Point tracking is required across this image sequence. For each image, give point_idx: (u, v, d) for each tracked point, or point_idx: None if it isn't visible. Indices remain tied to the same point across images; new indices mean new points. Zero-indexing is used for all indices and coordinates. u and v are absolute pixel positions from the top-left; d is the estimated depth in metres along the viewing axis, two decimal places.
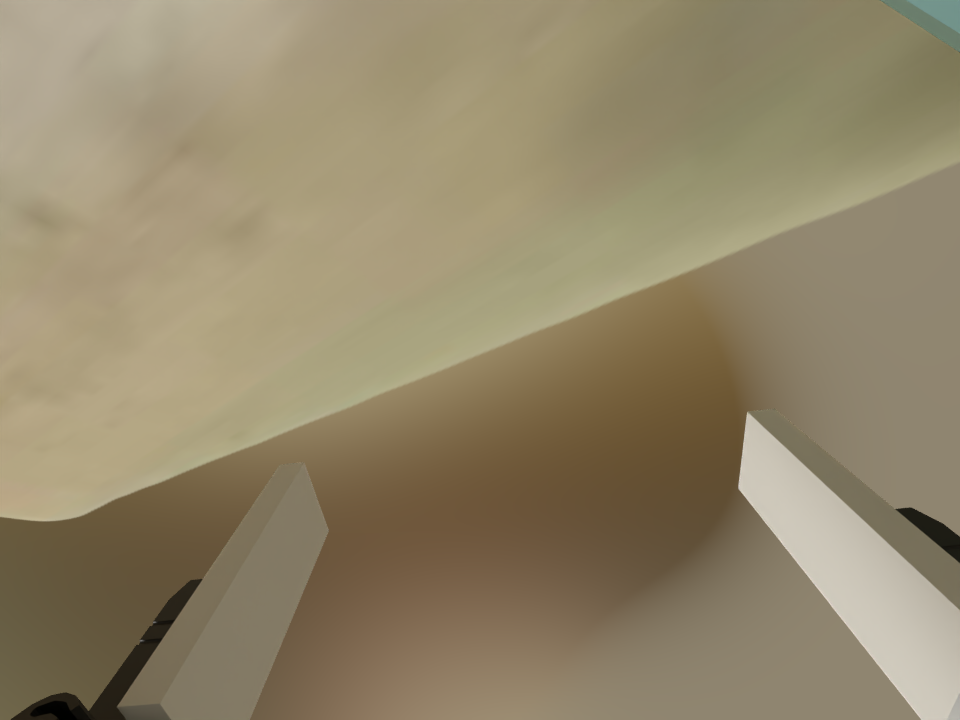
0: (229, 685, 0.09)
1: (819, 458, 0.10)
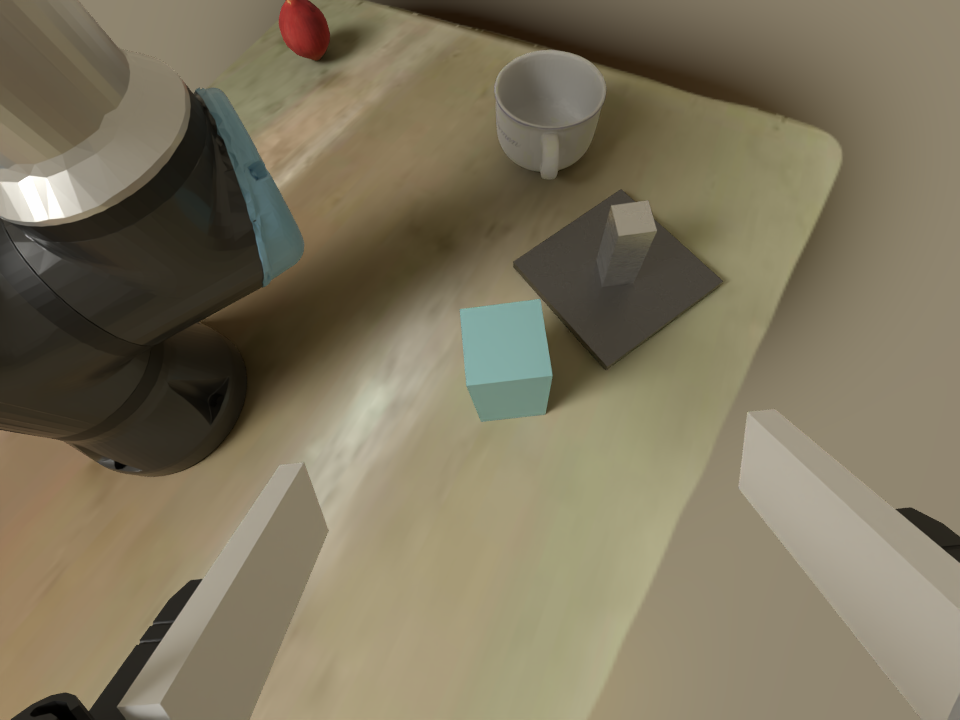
0: (229, 685, 0.09)
1: (819, 458, 0.10)
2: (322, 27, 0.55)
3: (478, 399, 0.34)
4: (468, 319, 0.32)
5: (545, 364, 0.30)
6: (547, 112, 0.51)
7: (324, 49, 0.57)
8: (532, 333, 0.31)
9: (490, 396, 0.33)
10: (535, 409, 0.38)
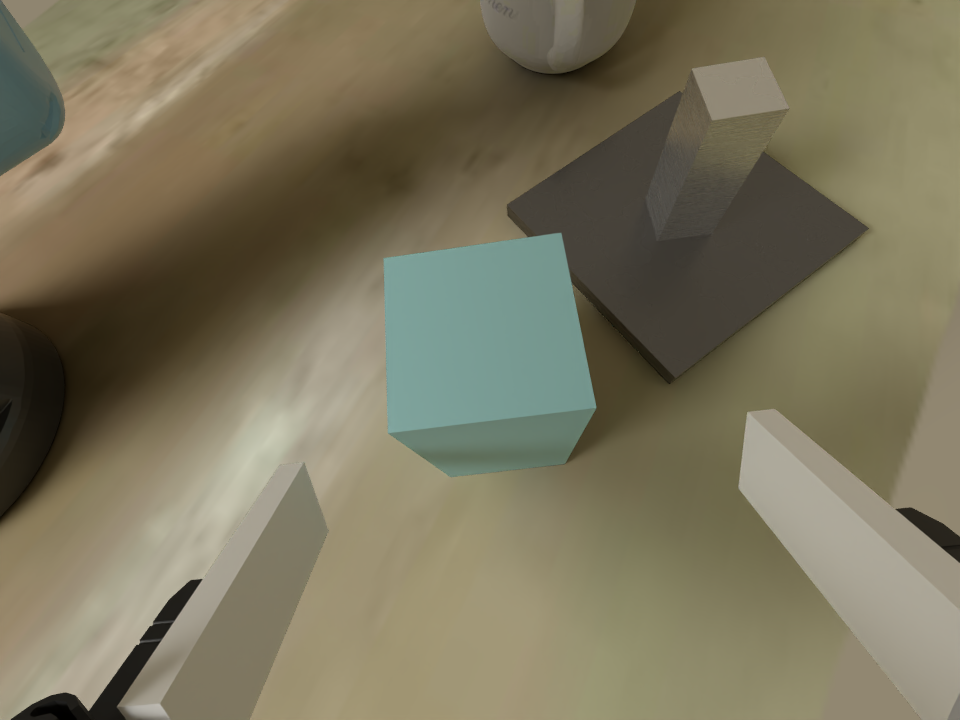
0: (229, 685, 0.09)
1: (819, 458, 0.10)
2: None
3: (430, 452, 0.16)
4: (401, 279, 0.14)
5: (578, 380, 0.12)
6: None
7: None
8: (546, 307, 0.13)
9: (454, 447, 0.15)
10: (548, 459, 0.20)
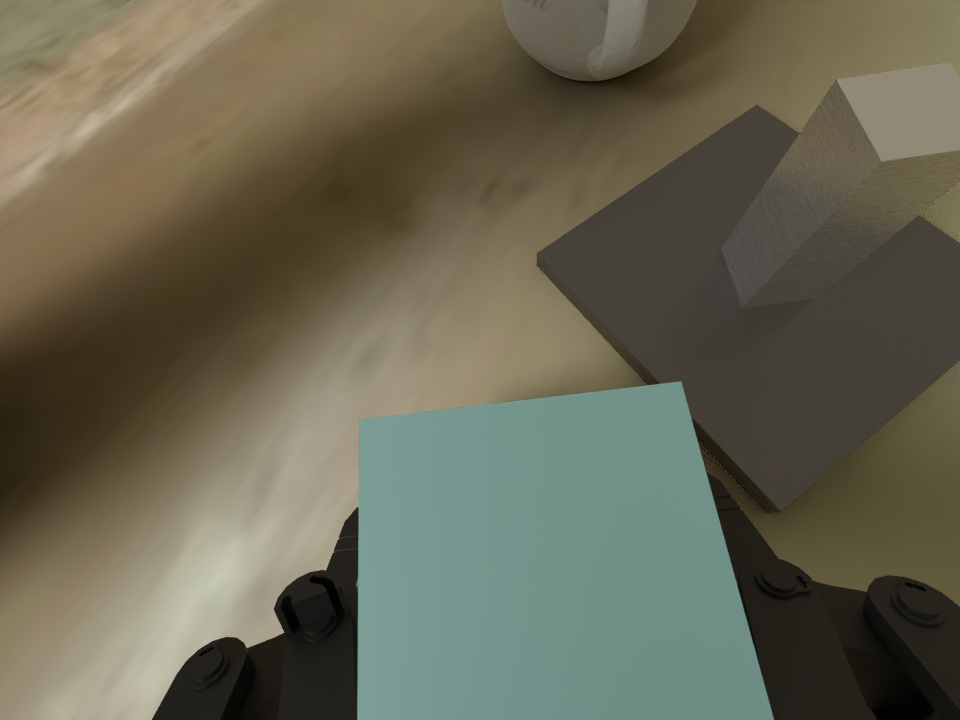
0: None
1: None
2: None
3: None
4: (389, 465, 0.08)
5: None
6: None
7: None
8: (666, 544, 0.07)
9: None
10: None
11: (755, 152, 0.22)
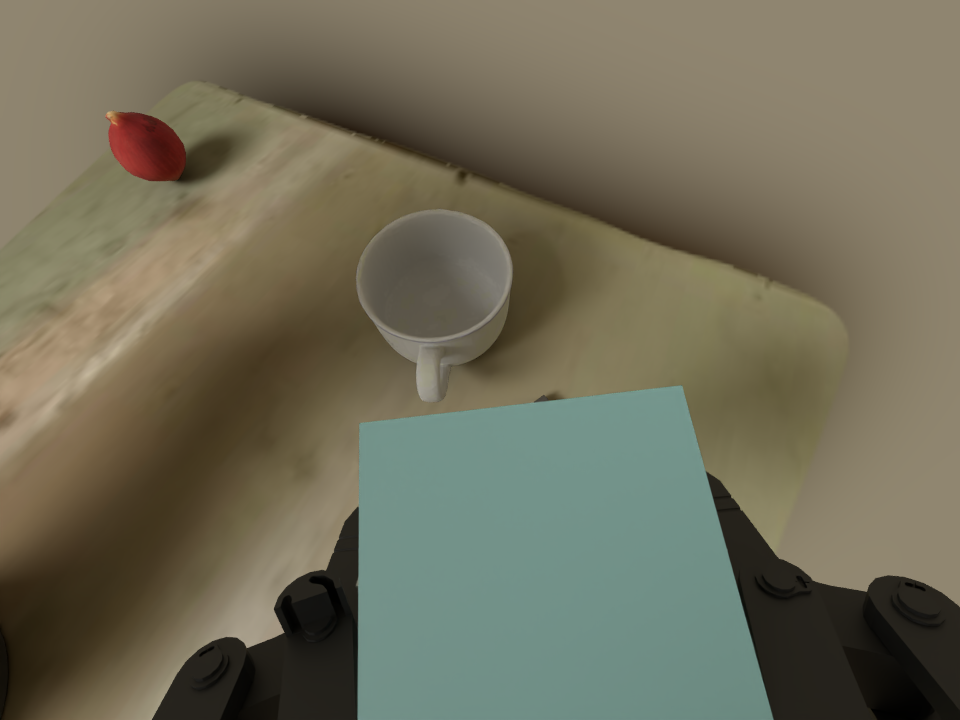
0: None
1: None
2: (167, 148, 0.42)
3: None
4: (390, 469, 0.08)
5: None
6: (451, 271, 0.38)
7: (177, 171, 0.44)
8: (667, 548, 0.07)
9: None
10: None
11: None
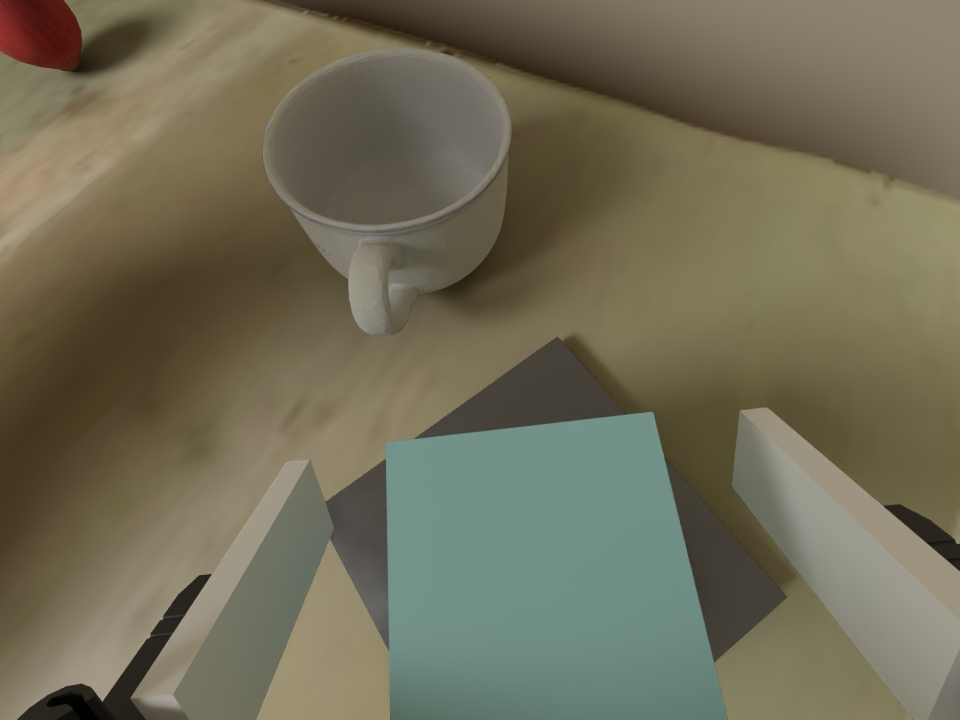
0: (239, 678, 0.09)
1: (809, 456, 0.11)
2: (45, 13, 0.31)
3: None
4: (412, 481, 0.09)
5: (700, 693, 0.08)
6: (425, 167, 0.26)
7: (66, 52, 0.33)
8: (637, 546, 0.09)
9: None
10: None
11: (546, 396, 0.21)
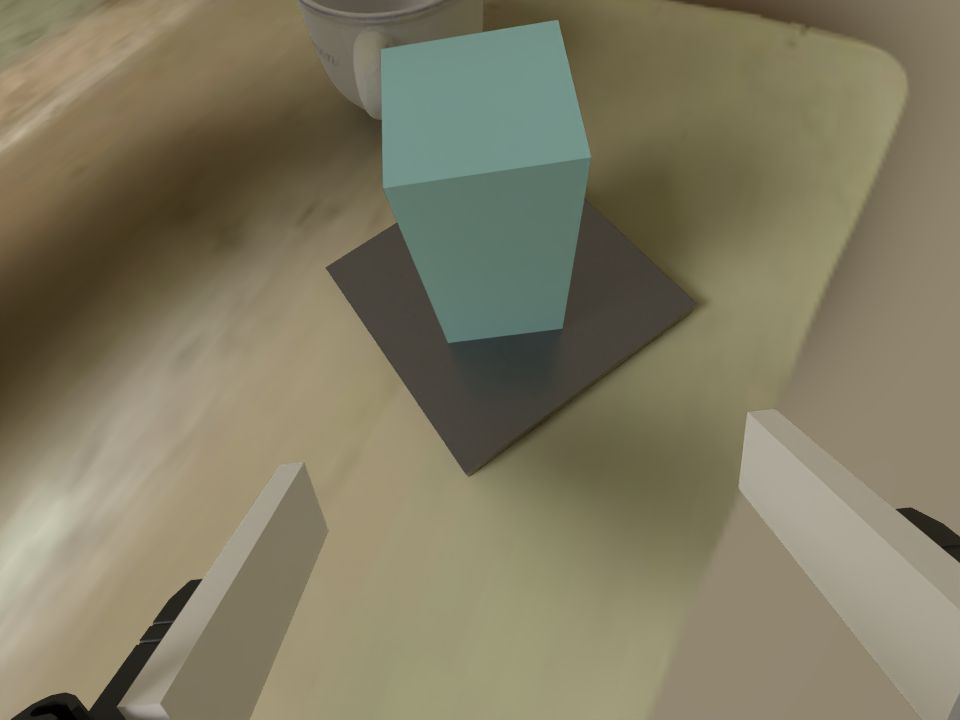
0: (229, 685, 0.09)
1: (819, 458, 0.10)
2: None
3: (427, 261, 0.16)
4: (398, 65, 0.14)
5: (573, 136, 0.12)
6: None
7: None
8: (542, 80, 0.13)
9: (450, 249, 0.15)
10: (545, 310, 0.20)
11: None
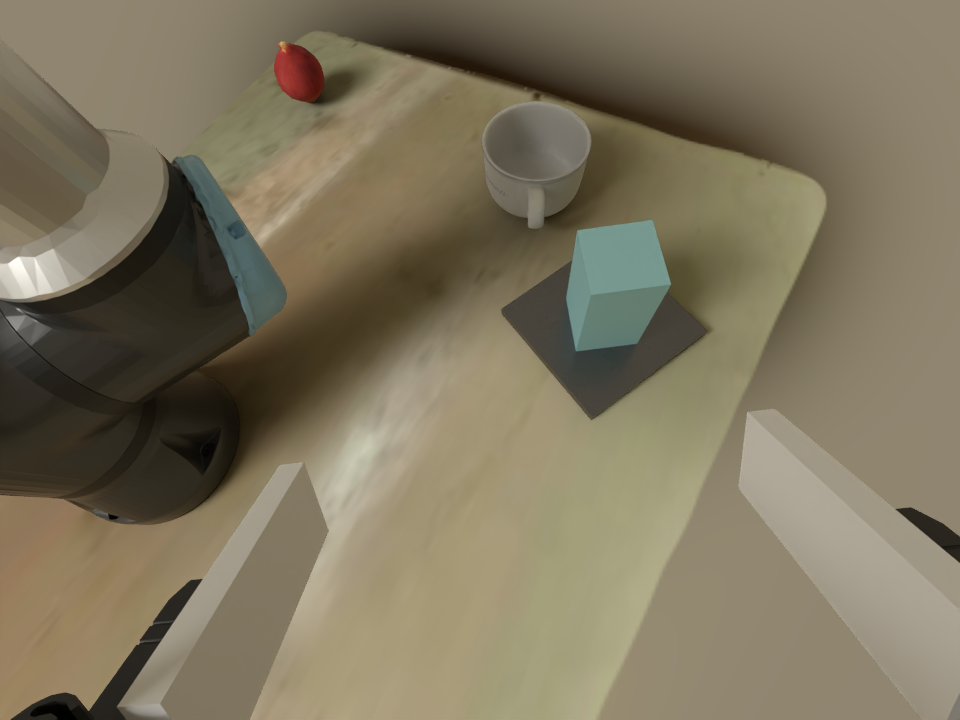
0: (229, 685, 0.09)
1: (819, 458, 0.10)
2: (316, 73, 0.56)
3: (590, 316, 0.36)
4: (586, 238, 0.35)
5: (663, 275, 0.33)
6: (536, 157, 0.52)
7: (318, 93, 0.58)
8: (648, 249, 0.34)
9: (603, 312, 0.36)
10: (632, 335, 0.41)
11: None
